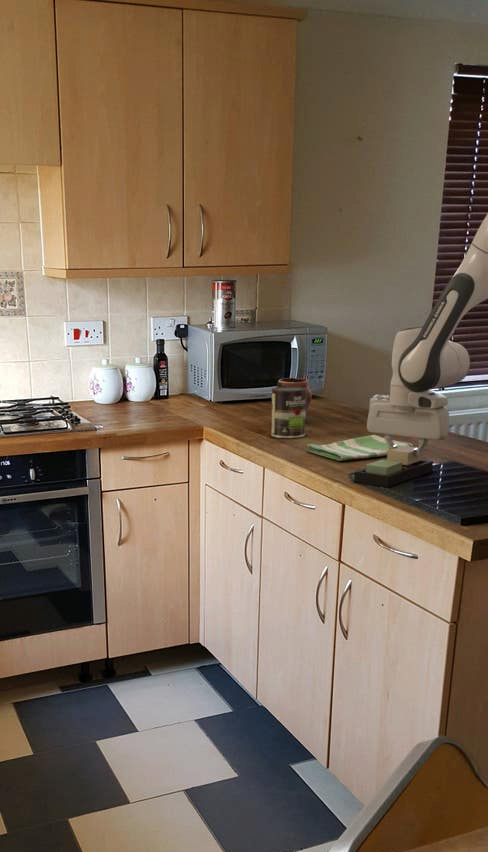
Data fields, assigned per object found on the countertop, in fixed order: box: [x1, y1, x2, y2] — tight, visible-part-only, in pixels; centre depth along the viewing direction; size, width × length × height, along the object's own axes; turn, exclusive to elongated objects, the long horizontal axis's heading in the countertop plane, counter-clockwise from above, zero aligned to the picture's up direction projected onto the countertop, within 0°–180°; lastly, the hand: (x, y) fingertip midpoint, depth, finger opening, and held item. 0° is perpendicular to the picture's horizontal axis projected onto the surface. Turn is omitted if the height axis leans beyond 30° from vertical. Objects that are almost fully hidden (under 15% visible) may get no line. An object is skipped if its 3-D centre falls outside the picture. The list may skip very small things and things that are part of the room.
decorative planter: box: [276, 377, 312, 417], centre depth 285 cm, size 20×12×14 cm, turn 10°
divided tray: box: [353, 459, 434, 488], centre depth 210 cm, size 9×21×2 cm, turn 136°
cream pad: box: [386, 446, 423, 465], centre depth 212 cm, size 6×7×3 cm
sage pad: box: [365, 459, 402, 475], centre depth 206 cm, size 6×7×3 cm
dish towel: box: [306, 434, 414, 462], centre depth 238 cm, size 18×23×3 cm
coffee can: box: [270, 386, 307, 439], centre depth 263 cm, size 10×10×14 cm
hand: (404, 454), depth 212 cm, fingers closed on cream pad, 5 cm apart
